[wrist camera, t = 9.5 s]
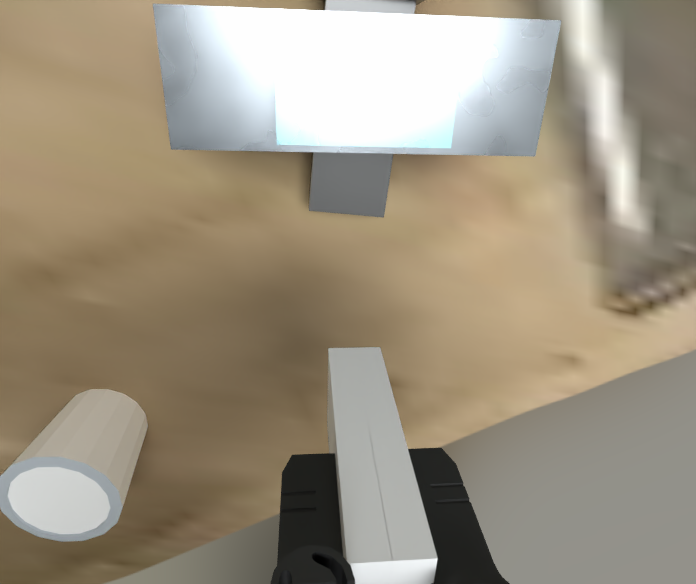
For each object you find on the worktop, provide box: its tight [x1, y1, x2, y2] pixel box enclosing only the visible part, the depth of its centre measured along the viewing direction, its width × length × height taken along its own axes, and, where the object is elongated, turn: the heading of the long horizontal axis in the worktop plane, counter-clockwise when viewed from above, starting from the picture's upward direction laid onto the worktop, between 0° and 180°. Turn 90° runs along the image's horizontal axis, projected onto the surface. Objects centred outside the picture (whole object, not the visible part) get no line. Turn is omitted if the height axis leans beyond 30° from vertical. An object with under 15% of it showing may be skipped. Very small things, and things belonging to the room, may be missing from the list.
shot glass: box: [0, 389, 148, 542], centre depth 30 cm, size 7×7×7 cm
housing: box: [153, 4, 561, 156], centre depth 19 cm, size 12×4×14 cm, turn 88°
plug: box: [309, 0, 424, 217], centre depth 21 cm, size 18×6×8 cm, turn 174°
